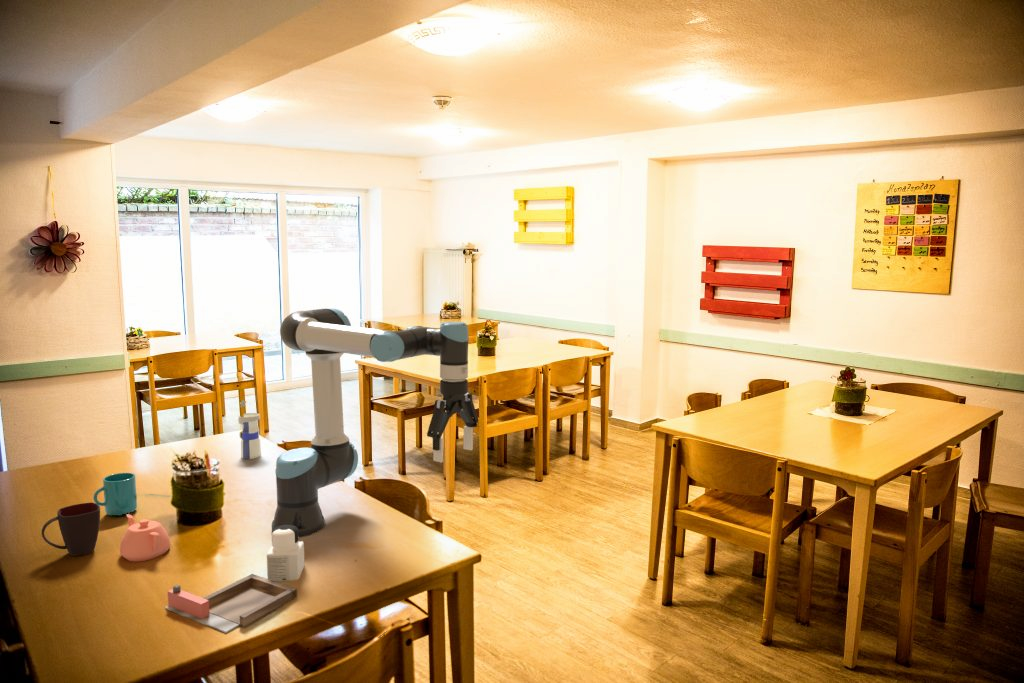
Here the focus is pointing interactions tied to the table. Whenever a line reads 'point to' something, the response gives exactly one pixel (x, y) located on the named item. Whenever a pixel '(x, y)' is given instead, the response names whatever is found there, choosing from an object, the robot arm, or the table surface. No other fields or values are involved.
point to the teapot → (144, 540)
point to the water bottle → (249, 435)
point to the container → (285, 554)
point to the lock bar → (188, 602)
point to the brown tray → (243, 603)
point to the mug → (77, 527)
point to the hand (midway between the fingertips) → (453, 455)
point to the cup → (118, 494)
